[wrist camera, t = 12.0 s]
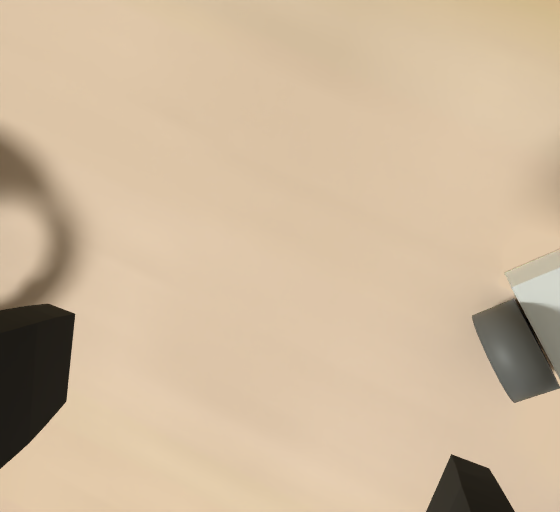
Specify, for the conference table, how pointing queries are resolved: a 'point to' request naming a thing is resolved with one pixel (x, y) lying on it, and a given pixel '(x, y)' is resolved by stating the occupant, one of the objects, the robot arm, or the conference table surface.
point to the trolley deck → (525, 330)
